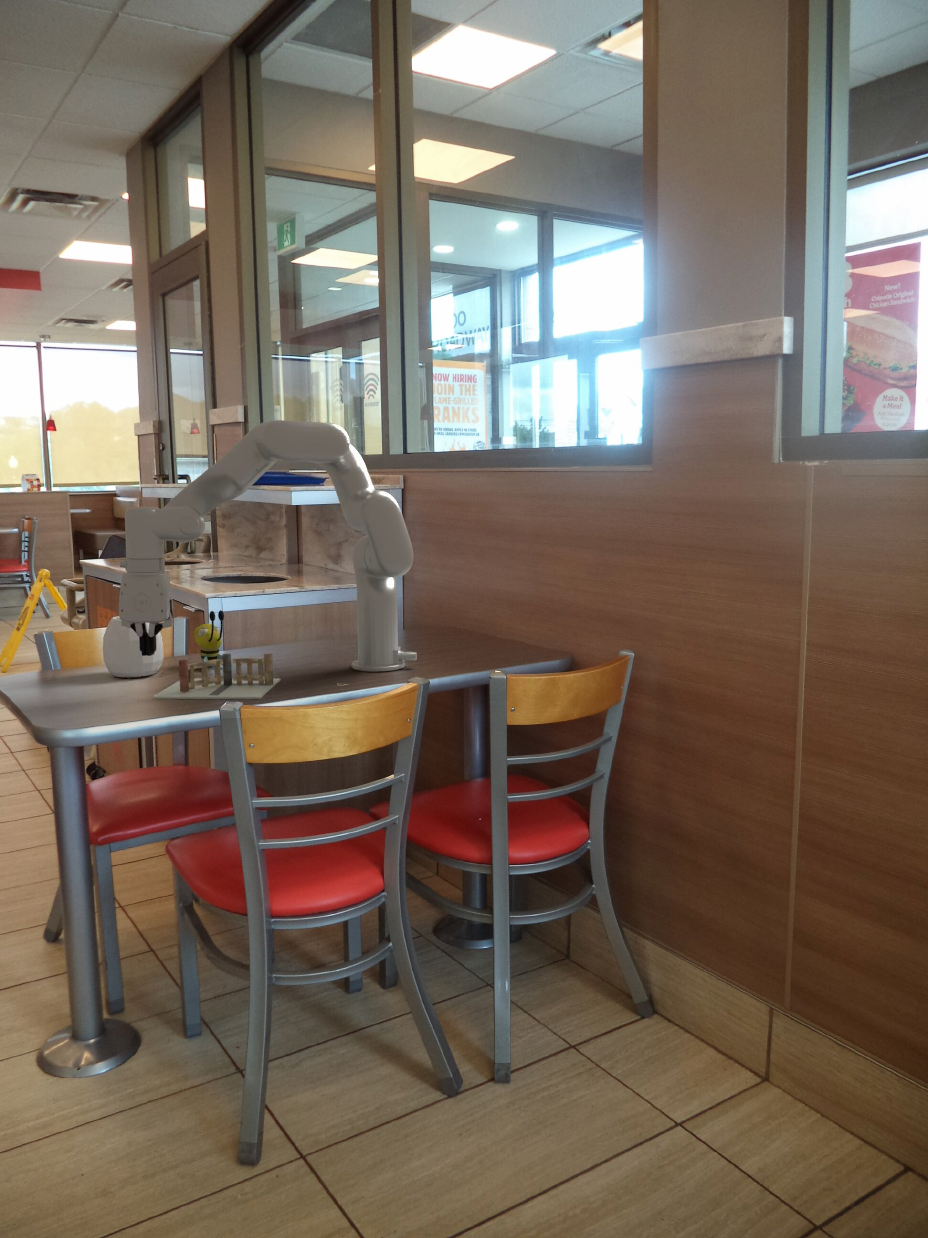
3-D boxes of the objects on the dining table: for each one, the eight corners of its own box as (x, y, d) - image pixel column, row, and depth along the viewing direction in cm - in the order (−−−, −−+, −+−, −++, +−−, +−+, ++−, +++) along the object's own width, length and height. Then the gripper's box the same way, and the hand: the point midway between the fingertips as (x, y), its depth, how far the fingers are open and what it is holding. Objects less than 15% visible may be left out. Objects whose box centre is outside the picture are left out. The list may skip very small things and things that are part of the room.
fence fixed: (274, 685, 210) (273, 653, 209) (272, 687, 208) (271, 655, 207) (225, 685, 210) (223, 653, 209) (222, 687, 208) (221, 655, 207)
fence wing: (220, 683, 209) (219, 654, 208) (225, 684, 207) (224, 655, 207) (178, 690, 201) (177, 660, 200) (183, 692, 200) (181, 661, 199)
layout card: (280, 680, 215) (280, 678, 215) (259, 698, 196) (259, 696, 196) (182, 680, 216) (182, 678, 216) (152, 698, 197) (152, 696, 197)
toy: (213, 610, 238) (230, 609, 225) (217, 667, 238) (235, 669, 225) (188, 612, 235) (203, 611, 222) (192, 669, 235) (208, 671, 222)
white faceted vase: (130, 683, 213) (126, 622, 211) (91, 677, 220) (88, 618, 218) (176, 673, 224) (174, 615, 222) (138, 667, 231) (135, 612, 229)
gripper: (102, 567, 195) (105, 657, 198) (175, 568, 195) (177, 658, 197) (117, 565, 203) (119, 651, 205) (187, 566, 202) (189, 652, 205)
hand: (148, 654), depth 201 cm, fingers closed
